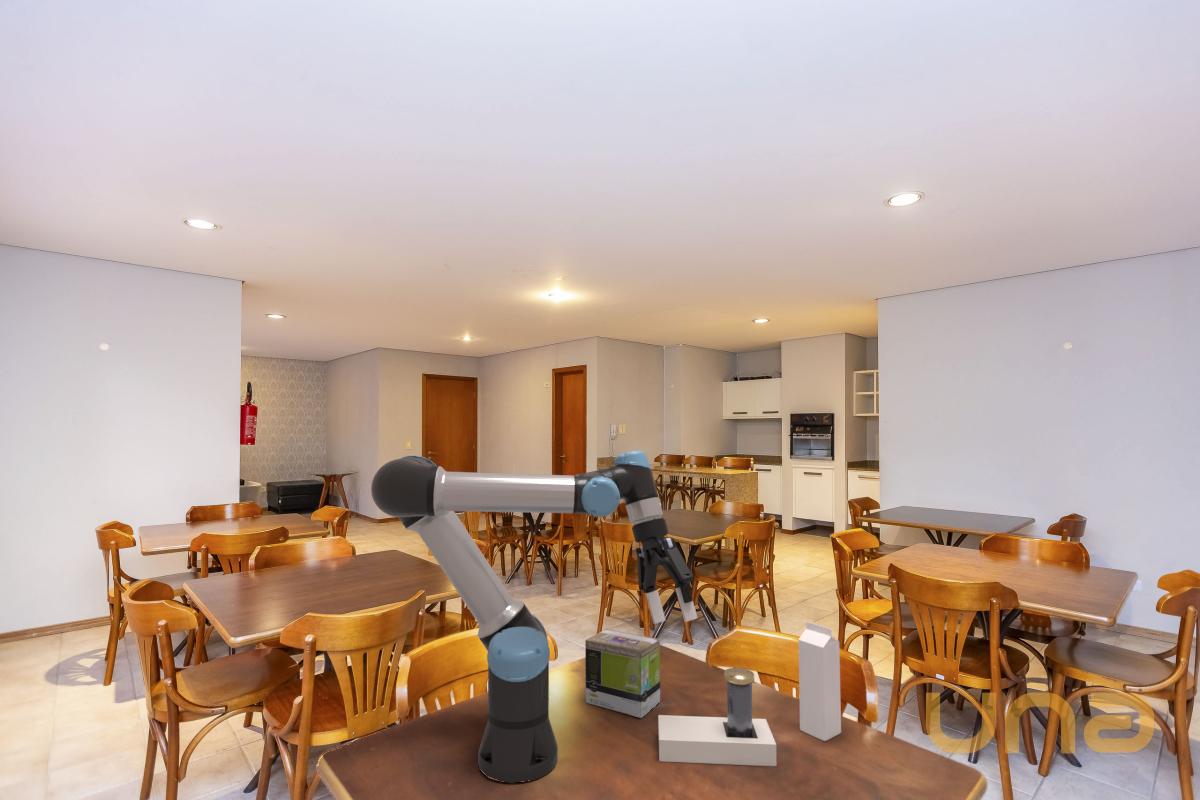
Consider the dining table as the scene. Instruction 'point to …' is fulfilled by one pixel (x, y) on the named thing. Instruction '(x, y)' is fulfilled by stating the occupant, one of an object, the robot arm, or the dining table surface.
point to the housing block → (713, 742)
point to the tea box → (623, 672)
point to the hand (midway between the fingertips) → (674, 621)
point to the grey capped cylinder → (739, 702)
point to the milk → (819, 682)
